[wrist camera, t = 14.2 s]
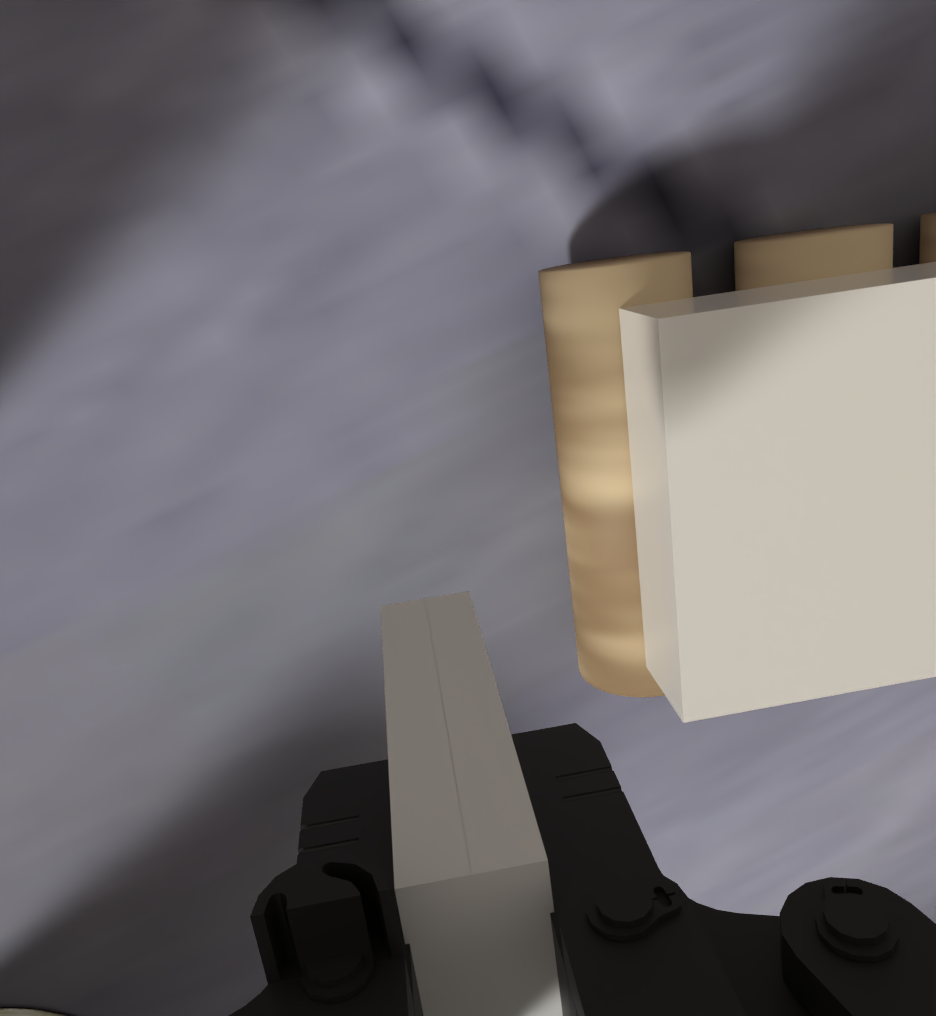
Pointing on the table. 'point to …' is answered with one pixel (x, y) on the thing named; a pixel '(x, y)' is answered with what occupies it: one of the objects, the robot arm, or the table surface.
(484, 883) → the robot arm
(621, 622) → the roller bed
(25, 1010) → the coffee can
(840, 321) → the slab
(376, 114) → the table surface
